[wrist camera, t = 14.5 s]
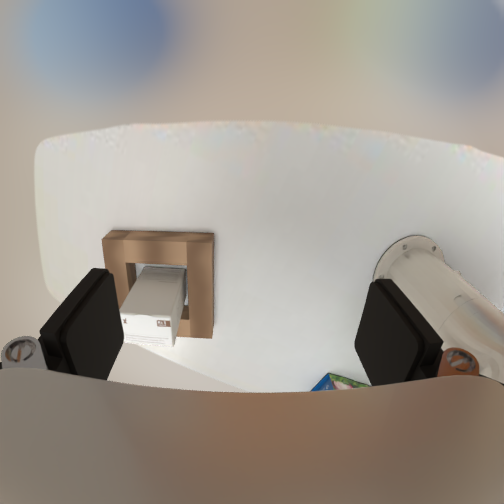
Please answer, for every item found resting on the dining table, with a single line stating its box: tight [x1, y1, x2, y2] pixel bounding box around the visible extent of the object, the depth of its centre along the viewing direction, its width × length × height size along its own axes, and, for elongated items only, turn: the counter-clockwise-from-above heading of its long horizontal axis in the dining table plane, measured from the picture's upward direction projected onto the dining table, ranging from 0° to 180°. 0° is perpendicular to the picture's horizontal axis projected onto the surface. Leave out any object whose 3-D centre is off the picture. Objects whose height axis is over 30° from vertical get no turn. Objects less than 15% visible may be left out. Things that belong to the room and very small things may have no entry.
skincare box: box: [119, 267, 186, 347], centre depth 36 cm, size 6×4×12 cm
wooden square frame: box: [102, 230, 214, 339], centre depth 40 cm, size 14×14×4 cm
